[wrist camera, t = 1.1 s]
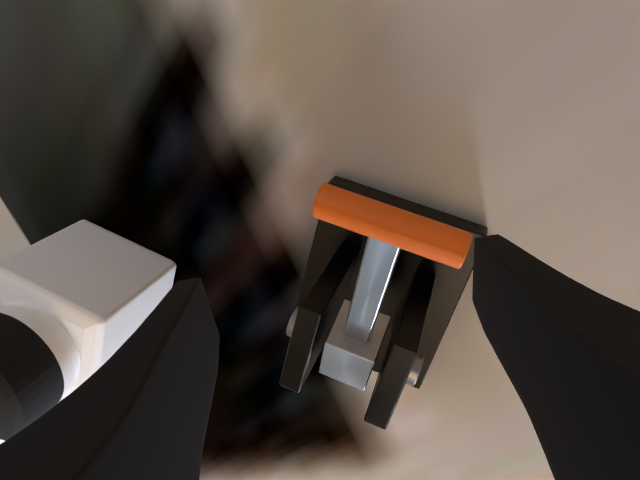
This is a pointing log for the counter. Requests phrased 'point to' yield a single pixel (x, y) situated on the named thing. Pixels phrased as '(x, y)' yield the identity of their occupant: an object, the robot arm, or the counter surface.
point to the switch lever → (376, 273)
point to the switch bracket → (399, 303)
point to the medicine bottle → (69, 314)
